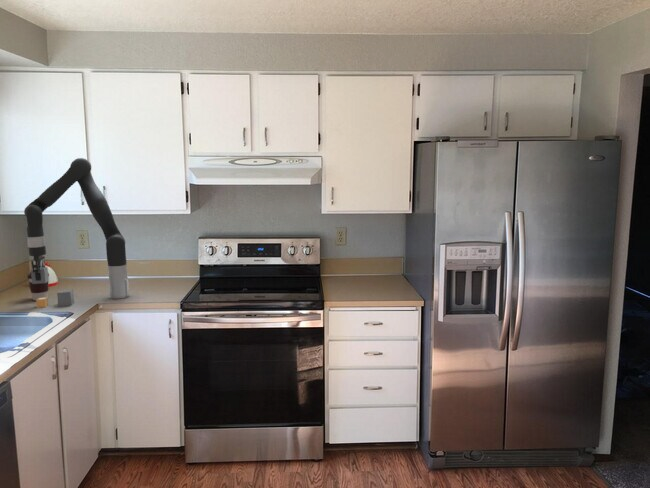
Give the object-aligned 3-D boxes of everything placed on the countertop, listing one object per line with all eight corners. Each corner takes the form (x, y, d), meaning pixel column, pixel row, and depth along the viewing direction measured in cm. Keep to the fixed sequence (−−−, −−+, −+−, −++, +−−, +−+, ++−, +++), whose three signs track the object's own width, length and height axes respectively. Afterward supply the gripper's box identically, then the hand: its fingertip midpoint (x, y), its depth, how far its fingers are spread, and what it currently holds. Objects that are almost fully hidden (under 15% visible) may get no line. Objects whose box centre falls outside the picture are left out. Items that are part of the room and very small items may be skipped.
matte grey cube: (74, 302, 270) (73, 289, 269) (71, 305, 265) (70, 292, 264) (61, 303, 269) (60, 290, 268) (58, 306, 263) (57, 292, 262)
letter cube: (47, 305, 267) (47, 297, 266) (45, 307, 263) (45, 299, 262) (39, 305, 266) (38, 297, 265) (36, 307, 262) (36, 299, 261)
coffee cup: (27, 302, 272) (24, 273, 270) (32, 297, 282) (29, 270, 280) (48, 300, 275) (46, 272, 273) (52, 296, 285) (50, 268, 282)
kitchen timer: (32, 283, 316) (30, 259, 314) (58, 281, 322) (56, 257, 319) (30, 288, 303) (28, 262, 301) (57, 286, 309) (55, 260, 307)
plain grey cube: (48, 280, 266) (47, 266, 265) (45, 283, 260) (44, 269, 259) (35, 281, 265) (34, 267, 263) (32, 283, 259) (30, 269, 258)
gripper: (41, 247, 254) (44, 281, 256) (48, 243, 267) (52, 275, 270) (23, 248, 252) (27, 282, 254) (32, 243, 266) (36, 276, 268)
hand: (40, 278), depth 262 cm, fingers closed on plain grey cube, 6 cm apart
